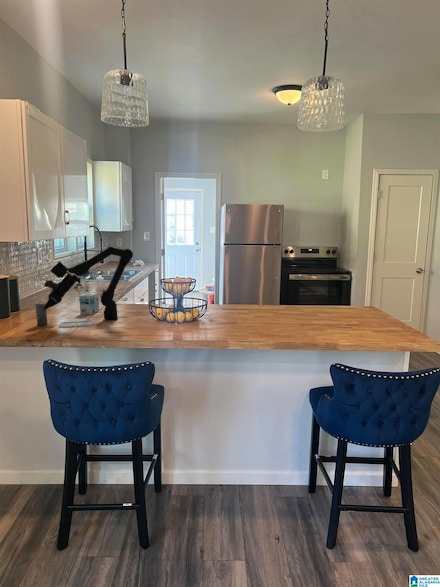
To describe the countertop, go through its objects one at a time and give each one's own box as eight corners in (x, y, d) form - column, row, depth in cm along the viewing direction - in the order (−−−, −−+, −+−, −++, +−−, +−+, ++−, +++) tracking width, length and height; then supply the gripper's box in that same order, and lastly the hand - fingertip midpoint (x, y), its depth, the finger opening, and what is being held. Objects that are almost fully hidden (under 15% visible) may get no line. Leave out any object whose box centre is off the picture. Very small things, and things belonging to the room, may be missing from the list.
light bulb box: (90, 314, 233) (89, 295, 232) (79, 314, 235) (78, 295, 233) (99, 310, 244) (98, 292, 242) (89, 310, 245) (88, 292, 243)
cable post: (49, 324, 213) (47, 302, 211) (43, 326, 208) (41, 304, 206) (41, 323, 214) (39, 302, 212) (35, 325, 209) (33, 304, 207)
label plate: (93, 321, 217) (93, 319, 217) (92, 325, 207) (92, 324, 207) (61, 323, 213) (61, 322, 213) (58, 328, 203) (58, 326, 203)
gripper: (54, 271, 218) (34, 294, 216) (51, 275, 200) (29, 300, 199) (72, 285, 221) (51, 307, 220) (70, 290, 204) (48, 314, 202)
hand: (45, 307), depth 210 cm, fingers open, 9 cm apart
